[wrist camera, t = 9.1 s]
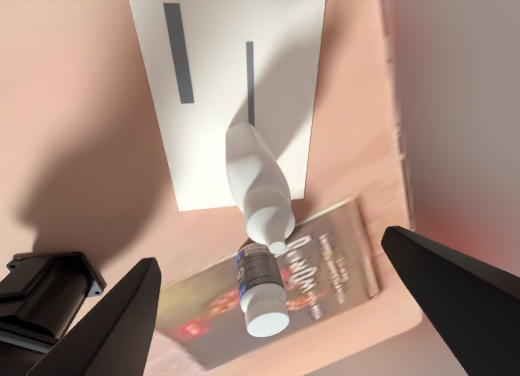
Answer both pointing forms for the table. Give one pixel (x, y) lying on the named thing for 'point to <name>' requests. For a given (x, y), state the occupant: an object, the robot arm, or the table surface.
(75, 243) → the table surface
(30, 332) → the robot arm
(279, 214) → the white plastic bottle
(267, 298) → the pill bottle
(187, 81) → the paper sheet
